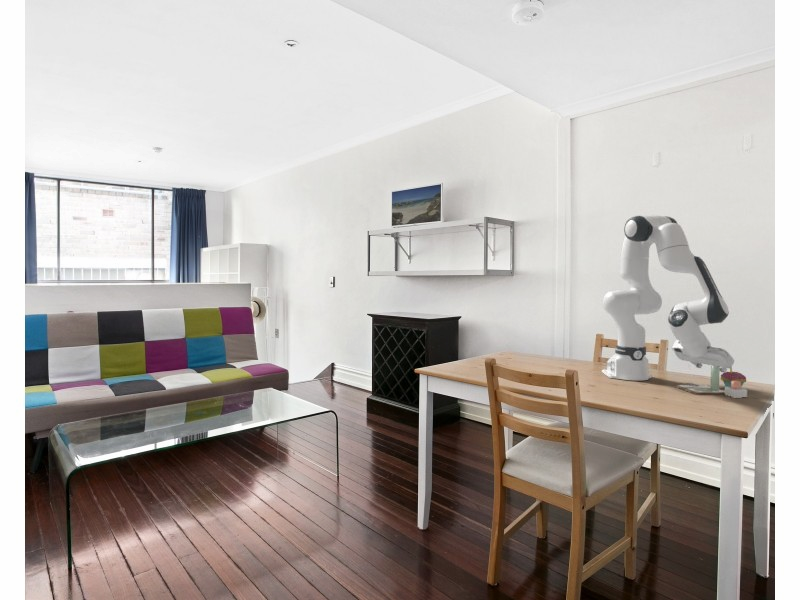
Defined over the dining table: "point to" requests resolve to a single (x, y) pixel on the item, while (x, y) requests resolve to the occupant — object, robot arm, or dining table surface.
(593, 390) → the dining table surface
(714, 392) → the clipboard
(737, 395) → the button housing
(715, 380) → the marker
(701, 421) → the dining table surface
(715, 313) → the robot arm
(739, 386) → the button
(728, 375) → the cupcake
